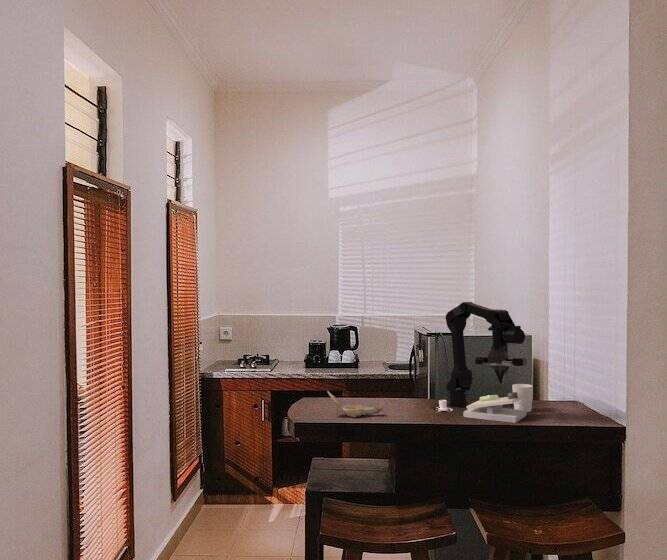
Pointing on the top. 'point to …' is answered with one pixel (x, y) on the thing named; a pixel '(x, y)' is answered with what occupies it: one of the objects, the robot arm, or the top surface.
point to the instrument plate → (495, 400)
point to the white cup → (527, 395)
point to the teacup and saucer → (443, 405)
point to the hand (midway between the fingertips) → (501, 383)
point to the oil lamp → (353, 408)
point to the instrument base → (496, 413)
